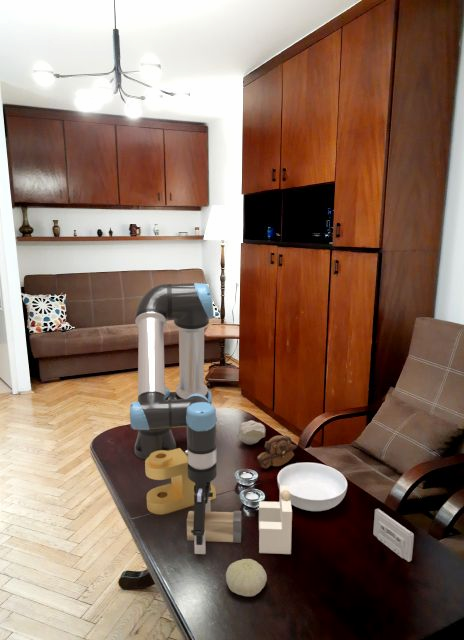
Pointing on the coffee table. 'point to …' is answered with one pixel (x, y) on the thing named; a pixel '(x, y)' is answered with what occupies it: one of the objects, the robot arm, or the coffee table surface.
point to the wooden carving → (277, 451)
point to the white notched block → (276, 524)
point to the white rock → (251, 432)
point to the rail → (218, 526)
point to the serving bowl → (313, 485)
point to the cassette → (393, 535)
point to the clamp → (174, 493)
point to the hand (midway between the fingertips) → (203, 535)
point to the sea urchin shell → (246, 577)
